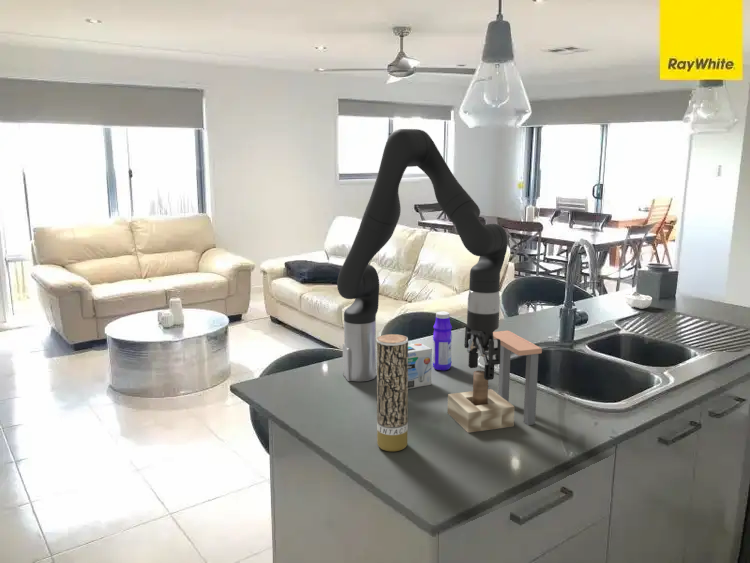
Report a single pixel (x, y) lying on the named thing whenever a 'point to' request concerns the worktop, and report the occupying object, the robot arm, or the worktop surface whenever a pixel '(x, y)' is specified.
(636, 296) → the cell model
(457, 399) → the socket
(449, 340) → the bottle
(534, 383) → the wooden top bench
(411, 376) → the light bulb box
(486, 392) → the peg
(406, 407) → the paper tube
